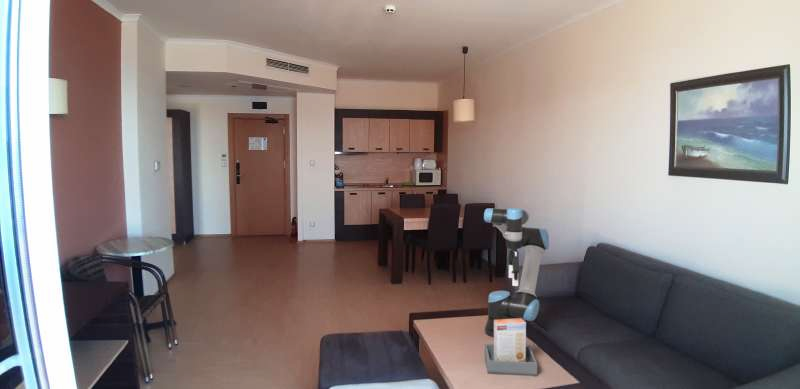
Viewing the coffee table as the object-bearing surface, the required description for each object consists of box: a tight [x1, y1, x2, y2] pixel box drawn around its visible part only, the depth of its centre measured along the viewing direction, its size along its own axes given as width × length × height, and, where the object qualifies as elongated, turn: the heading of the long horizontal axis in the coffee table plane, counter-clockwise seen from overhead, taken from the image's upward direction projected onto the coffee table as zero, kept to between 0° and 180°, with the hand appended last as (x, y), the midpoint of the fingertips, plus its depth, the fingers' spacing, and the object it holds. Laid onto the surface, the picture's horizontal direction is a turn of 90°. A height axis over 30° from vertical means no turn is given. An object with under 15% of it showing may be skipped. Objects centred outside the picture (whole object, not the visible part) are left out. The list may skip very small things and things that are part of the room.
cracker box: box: [493, 318, 527, 362], centre depth 209 cm, size 14×6×21 cm, turn 96°
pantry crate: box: [484, 343, 538, 377], centre depth 210 cm, size 18×22×6 cm
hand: (513, 281), depth 220 cm, fingers open, 13 cm apart
